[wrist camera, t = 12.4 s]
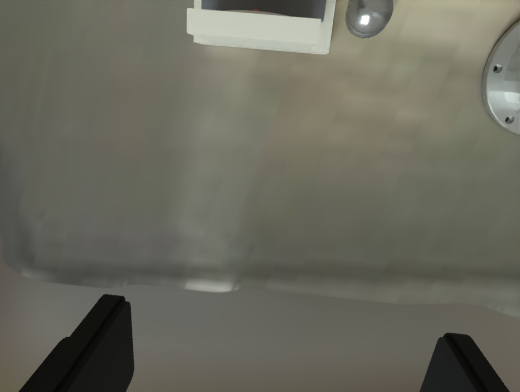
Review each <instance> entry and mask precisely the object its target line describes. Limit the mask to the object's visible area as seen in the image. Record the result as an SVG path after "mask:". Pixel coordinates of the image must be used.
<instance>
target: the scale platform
mask: <svg viewBox="0 0 520 392" xmlns="http://www.w3.org/2000/svg"><path fill="white" fill-rule="evenodd" d="M325 7H326V0H201V9H204V10H216V11H228V10H248V11H254V9H258V11H261V12H269V13H276V14H282V15H286V16H290V17H302V18H314V19H321V22H323V21H324V15H325Z"/></svg>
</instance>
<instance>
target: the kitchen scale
mask: <svg viewBox="0 0 520 392" xmlns="http://www.w3.org/2000/svg"><path fill="white" fill-rule="evenodd" d="M335 4H336V0H326V7H325V15H324V21H323V22H321V19H314V18H302V17H290V16H286V15H282V14H276V13H269V12H261V11H258V9H254V11H248V10H228V11H216V10H204V9H201V0H194V9H192V8H187V33H189V34H191V35H194V42H196V43H199V44H207V45H219V46H231V47H243V48H254V49H266V50H278V51H290V52H301V53H313V54H328V53H329V46H330V39H331V32H332V25H333V18H334V11H335Z"/></svg>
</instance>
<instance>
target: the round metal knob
mask: <svg viewBox="0 0 520 392" xmlns="http://www.w3.org/2000/svg"><path fill="white" fill-rule="evenodd" d="M392 12H393V0H351V1H350V4H349V7H348V9H347V12H346V24H347V27H348V29H349V31H350V32H351V33H352V34H353V35H355V36H357V37H359V38H369V37H373V36H375V35H377V34H378V33H380V32H381V31H382V30H383V29H384V27H385V26H386V24H387V23H388V21H389V20H390V18H391V16H392Z"/></svg>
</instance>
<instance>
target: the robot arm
mask: <svg viewBox="0 0 520 392" xmlns="http://www.w3.org/2000/svg"><path fill="white" fill-rule="evenodd" d="M494 67H495V70H494V71H493V68H494ZM482 96H483V100H484V104H485V107H486V109H487V111H488V113H489V115H490V116H491V117H492V118H493V120H494V121H495V122H496V123H497V124H498V125H500V126H501V127H503V128H504V129H506V130H508V131H510V132H513V133H515V134H520V20H519V21H518V22H516V23H515V24H514V25H513V26H512V27H511V28H510V29H509V30H508V31H507V32H506V33H505V34H504V35H503V36H502V37H501V39H500V40H499V41H498V43H497V44H496V45H495V47H494V49H493V51H492V52H491V54H490V56H489V58H488V61H487V64H486V66H485V69H484V74H483V80H482ZM506 118H507V119H506ZM505 119H506V120H505ZM133 357H134V356H133V339H132V322H131V306H130V302H126V301H125V298H124V296H117V295H108V294H105V295H103V296H102V297H101V298H100V299H99V300H98V302H97V303H96V304H95V306H94V307H93V308H92V309H91V310H90V312H89V313H88V314H87V316H86V317H85V318H84V319H83V320H82V322H81V323H80V324H79V326H78V327H77V328H76V329H75V331H74V332H73V333H72V334H71V336H70V337H66V338H64V339H62V340H61V341H60V342H59V343H58V344H57V345H56V347H55V348H54V349H53V350H52V352H51V353H50V354H49V355H48V356H47V358H46V359H45V360H44V362H43V363H42V364H41V365H40V366H39V368H38V369H37V370H36V371H35V372H34V374H33V375H32V376H31V377H30V378H29V380H28V381H27V382H26V384H25V385H24V386H23V387H22V388H21V389H20V391H19V392H126V390H127V388H128V386H129V384H130V382H131V380H132V377H133V372H134V358H133ZM420 392H509V390H508V389H507V387H506V386H505V385H504V383H503V382H502V380H501V379H500V378H499V376H498V375H497V373H496V372H495V370H494V369H493V368H492V366H491V365H490V363H489V362H488V361H487V359H486V358H485V357H484V355H483V353H482V352H481V351H480V349H479V348H478V346H477V345H476V344H475V342H474V341H473V339H472V338H471V337H470V336H468V335H464V334H456V333H446V334H445V335H444V336H443V337H440V338H439V339H438V341H437V344H436V347H435V350H434V352H433V355H432V358H431V361H430V364H429V367H428V370H427V372H426V376H425V379H424V381H423V384H422V387H421V390H420Z"/></svg>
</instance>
